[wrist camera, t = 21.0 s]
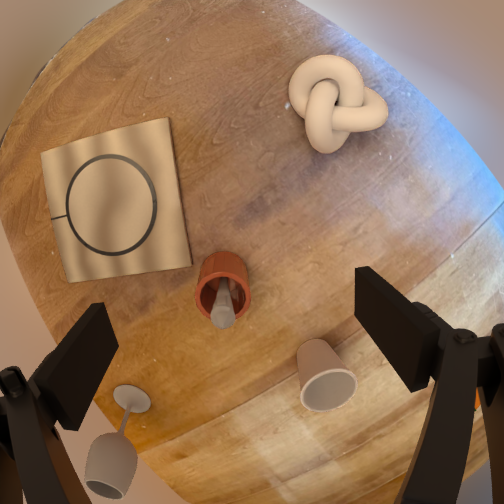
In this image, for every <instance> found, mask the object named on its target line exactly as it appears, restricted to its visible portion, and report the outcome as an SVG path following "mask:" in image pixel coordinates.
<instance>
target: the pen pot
mask: <svg viewBox="0 0 504 504" xmlns="http://www.w3.org/2000/svg"><path fill="white" fill-rule="evenodd" d="M223 276H224V277H228V284H229V291H230V297H231V301H232V304H233V310H234V313H235V320H236V319H238V318H239V317H241V316H242V315H243V314H244V313H245V312H246V311H247V310H248V308H249V305H250V302H251V294H250V287H249V281H248V274H247V268H246V266H245V264H244V262H243V260H242V259H241V258H240V257H239V256H237V255H236V254H233V253H231V252H225V251H222V252H217V253H214V254H212V255H210V256H209V257H208V258H207V259H206V260H205V261H204V263H203V265H202V267H201V271H200V275H199V279H198V283H197V288H196V292H195V301H196V305H197V307H198V309H199V310H200V312H201V313H202V314H203V315H204V316H206V317H207V318H209V319H210V320H211V311H212V309H213V305H214V303H215V300H216V299H217V298H216V297H217V293H218V289H219V284H220V278H221V277H223Z"/></svg>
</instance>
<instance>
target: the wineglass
mask: <svg viewBox="0 0 504 504" xmlns="http://www.w3.org/2000/svg"><path fill="white" fill-rule="evenodd" d="M113 396H114V399H115V401H116V402H117V403H118V404H119V405H120V406H121V407H122V408H124V409H126V412H125V415H124V418H123V421H122V424H121V427H120V429H119V431H118V432H117V433H107V434H103V435H100V436H99V437H98V438H96V439H95V440H94V441H93V443H92V445H91V448H90V450H89V453H88V457H87V463H86V469H85V479H84V483H85V485H86V487H87V488H88V489H89V490H91V491H92V492H94V493H95V494H97V495H100V496H102V497H105V498H108V499H113V500H120V499H123V498H124V496H125V494H126V492H127V491H128V488H129V486H130V484H131V482H132V479H133V477H134V474H135V471H136V468H137V459H138V457H137V452H136V450H135V448H134V446H133V445H132V443H131V442H130V441H129V440H128V439H127V438H126V437H125V436H124V428H125V425H126V422H127V419H128V416H129V413H130V412H135V413H141V412H145V411H147V410H148V409H149V407H150V404H151V401H150V398H149V396H148V395H147V394H146V393H145V392H144V391H143V390H142V389H140V388H138V387H136V386H133V385H125V384H124V385H120V386H118V387H116V388H115V390H114V394H113Z"/></svg>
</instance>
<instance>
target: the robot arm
mask: <svg viewBox="0 0 504 504" xmlns="http://www.w3.org/2000/svg"><path fill="white" fill-rule="evenodd" d="M354 315H355V317H356V318H357V319H358V321H359V322H360V323H361V325H362V326H363V327H364V329H365V330H366V331H367V333H368V334H369V335H370V337H371V338H372V339H373V341H374V342H375V343H376V345H377V346H378V347H379V349H380V350H381V352H382V353H383V354H384V356H385V357H386V358H387V360H388V361H389V363H390V364H391V365H392V367H393V368H394V370H395V371H396V372H397V374H398V375H399V377H400V378H401V379H402V381H403V382H404V384H405V385H406V386H407V388H408V389H409V391H410V392H411V393H413V392H416V391H418V390H421V389H424V388H426V387H427V386H428V383H429V379H430V376H431V377H432V378H433V379H434V380H435V385H434V388H433V391H432V395H431V398H430V404H429V407H428V411H427V415H426V418H425V422H424V425H423V428H422V431H421V434H420V438H419V441H418V444H417V447H416V449H415V452H414V455H413V458H412V461H411V463H410V466H409V468H408V471H407V474H406V476H405V478H404V481H403V483H402V486H401V488H400V490H399V493H398V495H397V497H396V499H395V501H394V504H456V500H457V497H458V493H459V489H460V486H461V482H462V478H463V474H464V470H465V465H466V460H467V455H468V450H469V445H470V439H471V433H472V426H473V419H474V410H475V401H476V389H477V390H478V394H479V399H480V404H481V408H482V413H483V419H484V424H485V430H486V436H487V443H488V450H489V458H490V468H491V479H492V496H493V504H504V323H501V324H497V325H495V326H494V327H493V329H492V333H491V336H486V337H478V338H477V335H476V334H475V333H474V332H472V331H470V330H467V329H453V328H452V327H451V326H450V325H449V324H448V323H446V322H445V321H444V320H443V319H442V318H441V317H438V315H437V314H436V313H435V312H433V311H432V310H431V309H430V308H429V307H428V306H426V305H424V304H422V303H419V302H413V303H411V302H410V301H409V300H408V299H407V298H406V297H404V296H403V295H402V294H401V293H400V292H399V291H397V290H396V289H395V288H394V287H393V286H392V285H390V284H389V283H388V282H387V281H386V280H385V279H383V278H382V277H381V276H380V275H379V274H377V273H376V272H375V271H374V270H373V269H371V268H370V267H369V266H365V267H359V268H355V312H354ZM118 347H119V345H118V342H117V339H116V336H115V334H114V331H113V328H112V325H111V322H110V319H109V316H108V313H107V310H106V307H105V304H104V302H102V303H93V304H91V305H90V307H89V308H88V309H87V310H86V311H85V312H84V314H83V315H82V316H81V317H80V318H79V320H78V321H77V322H76V323H75V325H74V326H73V327H72V328H71V330H70V331H69V332H68V333H67V335H66V336H65V337H64V338H63V340H62V341H61V342H60V343H59V345H58V346H57V347H56V348H55V350H53V351H52V352H51V353H49V354H48V355H47V356H46V357H45V358H44V360H43V361H42V363H41V364H40V365H39V366H38V368H37V369H36V370H35V372H34V373H33V375H32V376H31V377H30V378H29V380H28V381H26V379H25V377H24V376H23V374H22V372H21V370H20V368H19V367H17V366H11V367H7V368H5V369H4V370H2V371H1V372H0V389H1V391H2V393H3V394H4V396H3V397H0V504H23V491H24V495H25V498H26V501H27V504H92V503H91V501H90V499H89V497H88V495H87V494H86V492H85V490H84V488H83V486H82V484H81V482H80V480H79V478H78V476H77V474H76V472H75V470H74V468H73V465H72V463H71V461H70V459H69V457H68V454H67V452H66V450H65V447H64V445H63V443H62V440H61V438H60V435H59V433H58V431H57V429H56V428H55V426H54V425H55V423H56V421H57V420H58V421H59V423H60V424H61V426H62V427H63V429H65V430H73V431H78V430H79V428H80V426H81V423H82V421H83V419H84V417H85V414H86V412H87V410H88V408H89V406H90V404H91V402H92V399H93V397H94V395H95V393H96V391H97V389H98V387H99V385H100V383H101V381H102V379H103V377H104V375H105V373H106V371H107V369H108V367H109V365H110V363H111V361H112V359H113V357H114V355H115V353H116V351H117V349H118ZM22 488H23V491H22Z"/></svg>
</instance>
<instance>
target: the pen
mask: <svg viewBox="0 0 504 504" xmlns="http://www.w3.org/2000/svg"><path fill="white" fill-rule="evenodd" d="M216 298H217V299H216V300H215V303H214V305H213V309H212V311H211V321H212V323H213V324H214V325H215V326H216V327H218V328H220V329H226V328H228V327H230V326H232V325H233V324H234V322H235V313H234V310H233V304H232V301H231V297H230V291H229V284H228V277H224V276H223V277H221V278H220V284H219V289H218V293H217V297H216Z"/></svg>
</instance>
